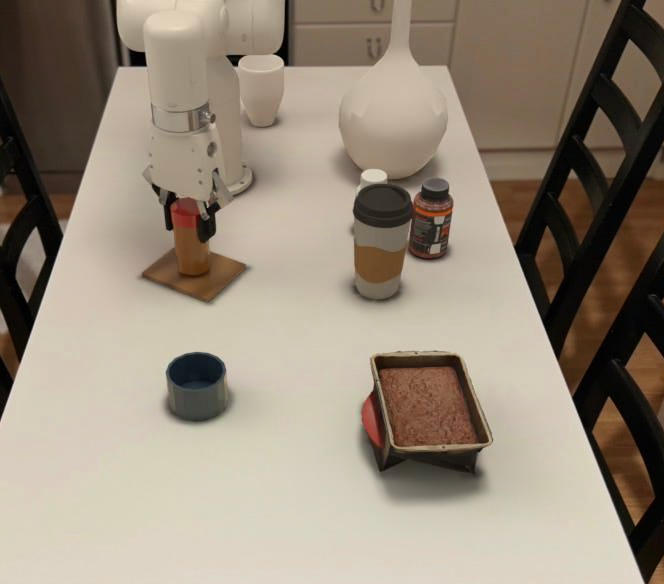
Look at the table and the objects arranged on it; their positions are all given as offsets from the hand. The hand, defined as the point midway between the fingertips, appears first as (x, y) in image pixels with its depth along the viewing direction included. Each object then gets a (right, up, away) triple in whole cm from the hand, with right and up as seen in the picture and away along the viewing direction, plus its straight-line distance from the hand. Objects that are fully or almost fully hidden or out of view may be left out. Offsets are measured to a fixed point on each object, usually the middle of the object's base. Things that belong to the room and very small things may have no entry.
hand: (190, 231), depth 132 cm
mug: (+9, +30, +42) cm, 52 cm away
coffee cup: (+27, -8, +2) cm, 28 cm away
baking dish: (+30, -30, -20) cm, 47 cm away
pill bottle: (+27, +3, +13) cm, 30 cm away
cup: (+3, -25, -15) cm, 29 cm away
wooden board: (0, -5, +5) cm, 7 cm away
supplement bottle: (+36, -1, +10) cm, 37 cm away
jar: (0, -4, +4) cm, 6 cm away
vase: (+32, +17, +28) cm, 46 cm away
